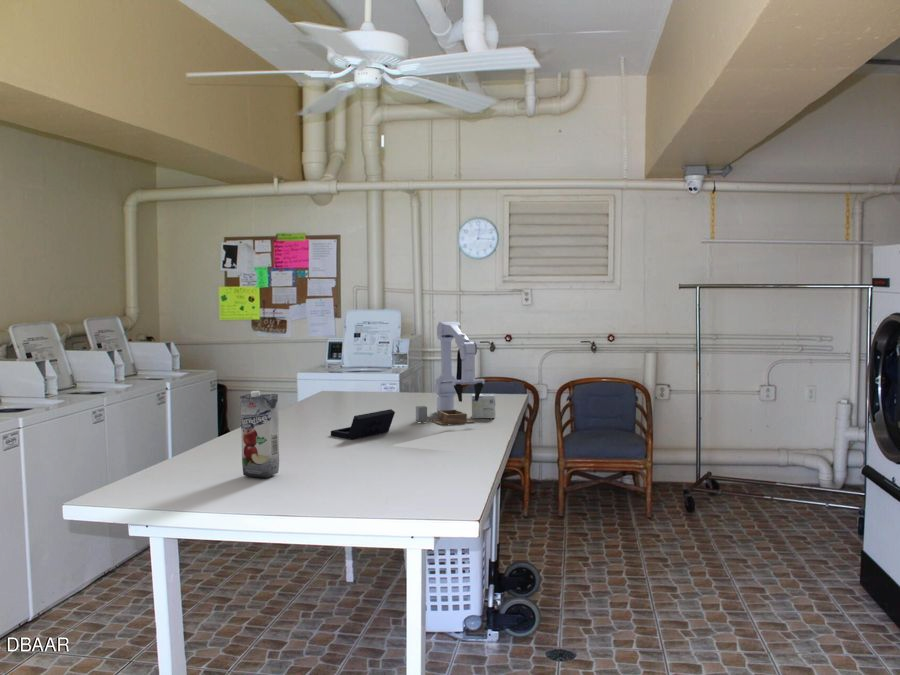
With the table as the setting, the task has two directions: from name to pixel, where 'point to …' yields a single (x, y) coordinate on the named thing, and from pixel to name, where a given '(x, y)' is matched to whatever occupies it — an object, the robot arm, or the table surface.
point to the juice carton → (259, 434)
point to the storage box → (366, 425)
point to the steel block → (421, 413)
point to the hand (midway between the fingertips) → (468, 400)
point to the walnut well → (451, 417)
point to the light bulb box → (483, 406)
